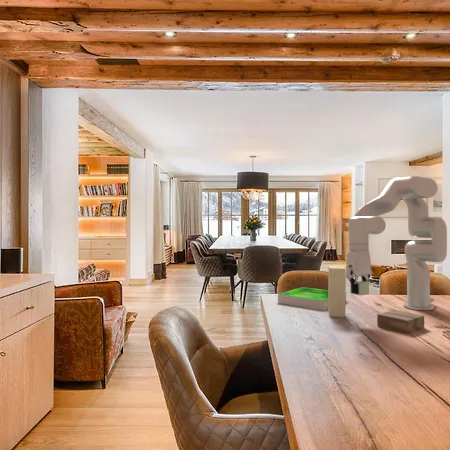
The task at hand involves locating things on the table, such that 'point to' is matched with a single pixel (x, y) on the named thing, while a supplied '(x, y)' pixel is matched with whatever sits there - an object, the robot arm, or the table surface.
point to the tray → (306, 298)
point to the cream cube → (362, 288)
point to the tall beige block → (336, 291)
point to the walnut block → (400, 321)
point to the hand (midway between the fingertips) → (359, 291)
